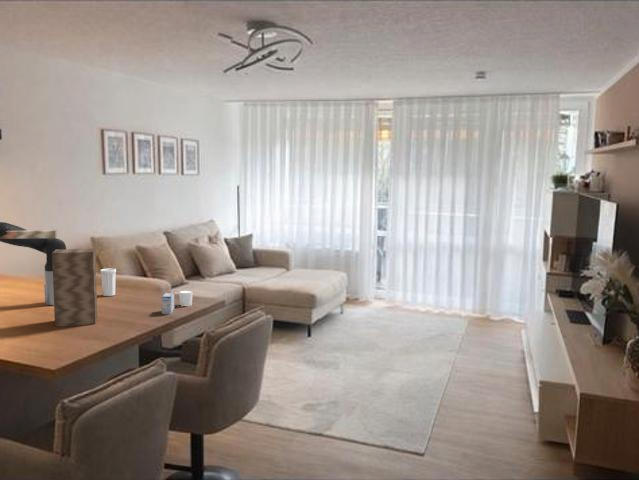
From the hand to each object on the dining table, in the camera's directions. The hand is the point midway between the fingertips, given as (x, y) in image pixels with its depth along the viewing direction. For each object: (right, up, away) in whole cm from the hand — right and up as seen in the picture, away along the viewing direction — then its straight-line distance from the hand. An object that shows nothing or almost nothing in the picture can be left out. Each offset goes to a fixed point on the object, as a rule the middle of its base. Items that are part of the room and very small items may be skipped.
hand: (6, 230), depth 219 cm
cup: (+17, -34, +65) cm, 76 cm away
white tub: (+63, -37, +47) cm, 87 cm away
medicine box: (+58, -39, +33) cm, 77 cm away
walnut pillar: (+23, -40, +13) cm, 48 cm away
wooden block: (+6, -3, +2) cm, 7 cm away
